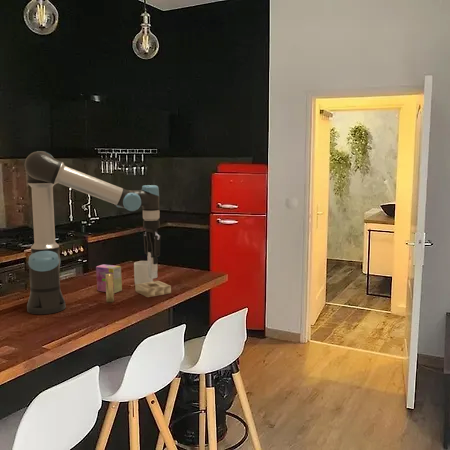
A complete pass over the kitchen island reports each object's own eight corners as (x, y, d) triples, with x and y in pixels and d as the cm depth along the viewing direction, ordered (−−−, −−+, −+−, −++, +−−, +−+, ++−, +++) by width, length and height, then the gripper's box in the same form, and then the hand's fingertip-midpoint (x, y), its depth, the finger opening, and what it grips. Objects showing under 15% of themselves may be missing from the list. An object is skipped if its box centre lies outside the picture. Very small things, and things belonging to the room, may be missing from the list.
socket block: (147, 297, 237) (147, 289, 237) (135, 291, 247) (135, 284, 246) (171, 293, 244) (170, 285, 244) (158, 287, 254) (158, 280, 253)
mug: (149, 287, 254) (148, 265, 252) (131, 287, 256) (131, 264, 254) (157, 281, 265) (157, 260, 264) (140, 281, 267) (140, 259, 266)
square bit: (151, 278, 242) (150, 252, 241) (148, 277, 245) (147, 251, 243) (157, 277, 244) (156, 252, 242) (154, 276, 247) (153, 251, 245)
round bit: (108, 302, 229) (107, 275, 227) (105, 301, 231) (104, 274, 230) (115, 301, 231) (114, 274, 229) (112, 300, 233) (111, 273, 232)
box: (96, 291, 249) (95, 266, 247) (104, 288, 254) (103, 263, 252) (114, 293, 244) (113, 268, 242) (122, 290, 249) (121, 266, 247)
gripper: (167, 220, 236) (168, 272, 240) (150, 217, 249) (151, 266, 253) (152, 221, 232) (153, 274, 235) (135, 218, 245) (137, 268, 248)
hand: (152, 270), depth 244 cm, fingers closed on square bit, 3 cm apart
